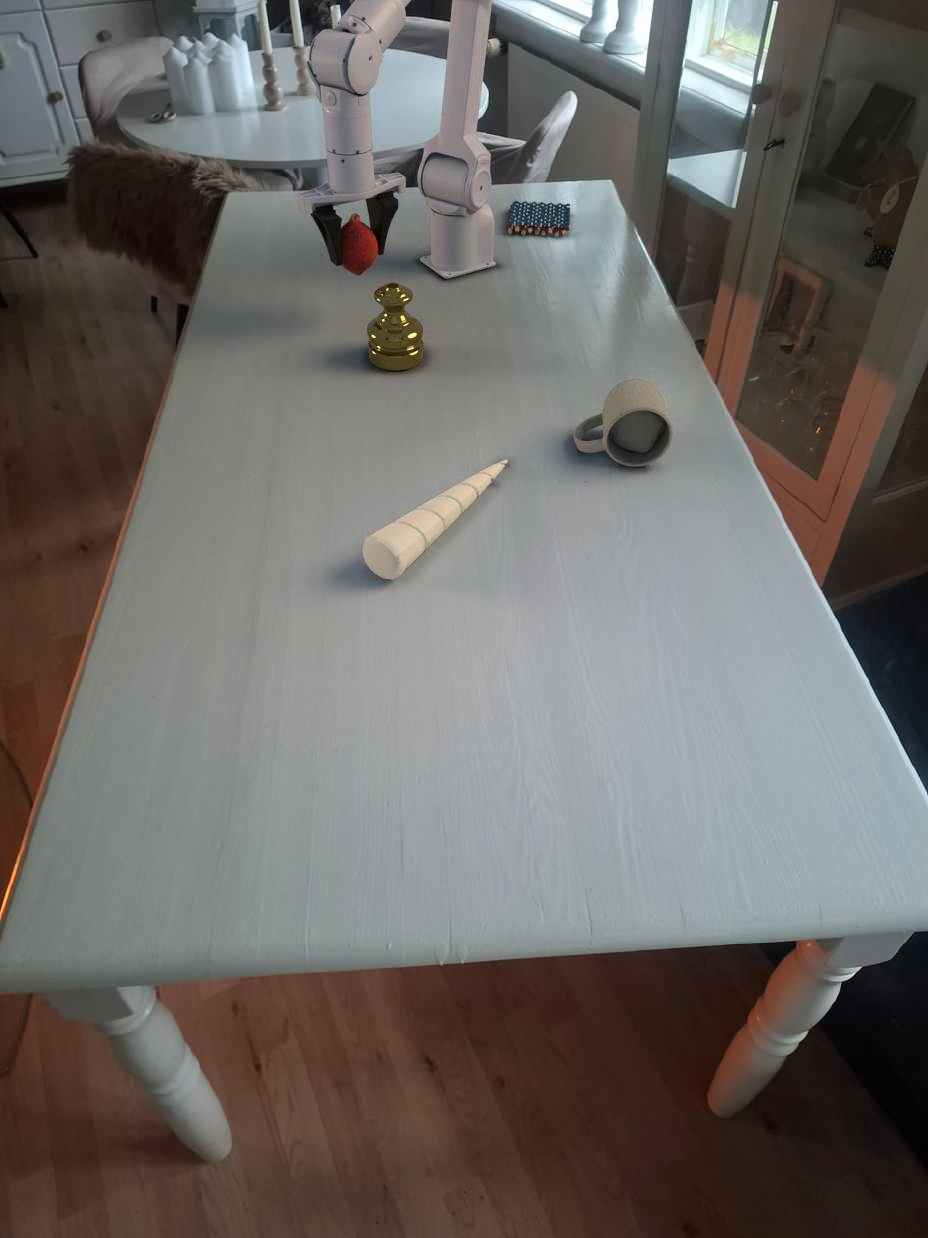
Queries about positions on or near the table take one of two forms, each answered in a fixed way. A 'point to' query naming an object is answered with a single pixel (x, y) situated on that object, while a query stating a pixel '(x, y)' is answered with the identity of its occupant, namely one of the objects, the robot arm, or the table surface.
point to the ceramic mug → (630, 425)
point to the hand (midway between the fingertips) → (357, 257)
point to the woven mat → (538, 217)
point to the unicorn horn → (423, 526)
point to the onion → (357, 246)
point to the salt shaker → (394, 331)
